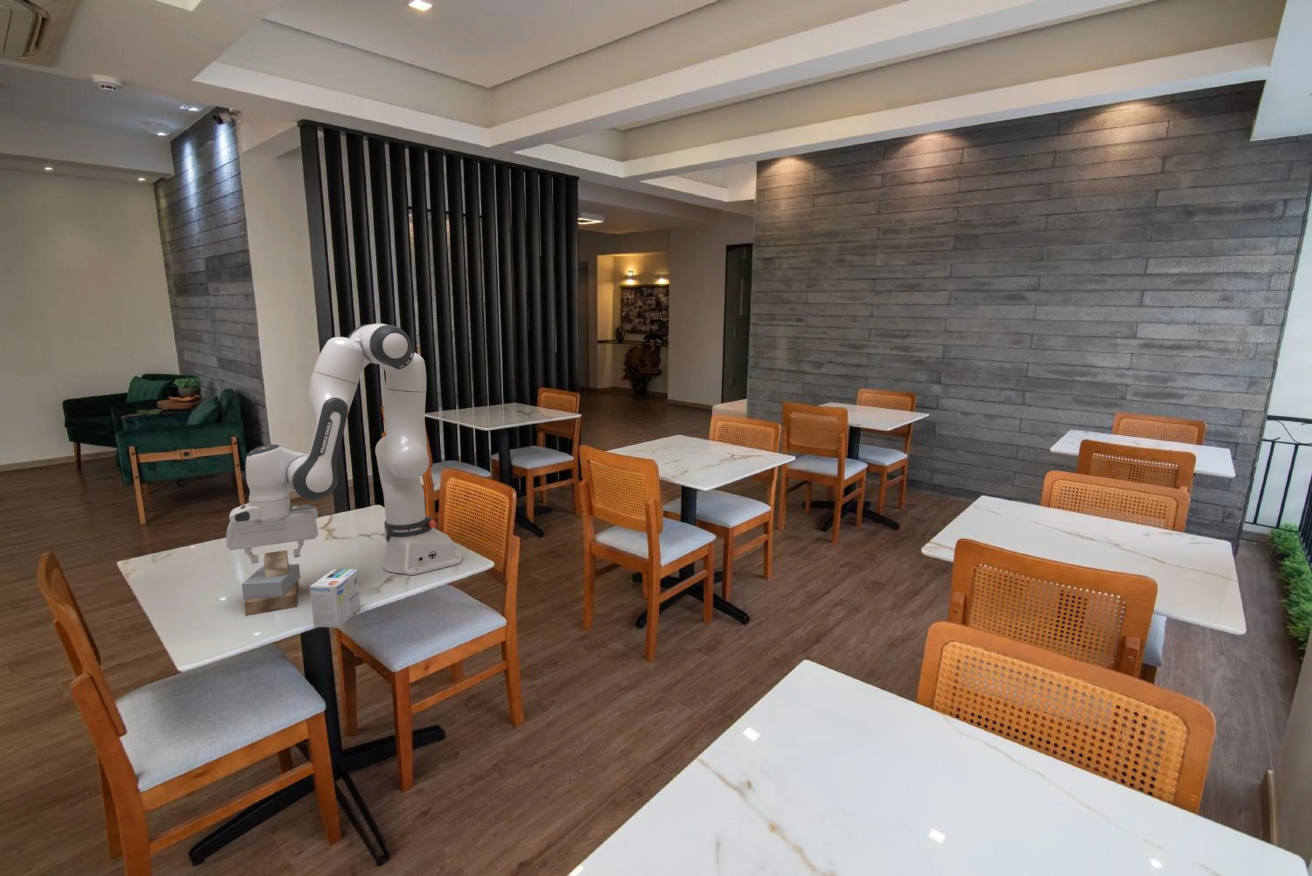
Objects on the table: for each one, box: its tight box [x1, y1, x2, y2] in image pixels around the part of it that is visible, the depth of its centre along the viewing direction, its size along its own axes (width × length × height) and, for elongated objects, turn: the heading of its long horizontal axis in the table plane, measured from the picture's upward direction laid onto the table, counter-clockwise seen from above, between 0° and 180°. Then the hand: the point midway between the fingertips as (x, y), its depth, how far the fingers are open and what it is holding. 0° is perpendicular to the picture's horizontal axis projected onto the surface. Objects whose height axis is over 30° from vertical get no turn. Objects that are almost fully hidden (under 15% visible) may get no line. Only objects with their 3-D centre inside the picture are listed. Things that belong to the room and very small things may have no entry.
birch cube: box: [263, 549, 289, 578], centre depth 164 cm, size 5×5×5 cm
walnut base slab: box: [243, 580, 300, 617], centre depth 164 cm, size 11×14×4 cm
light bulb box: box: [309, 568, 361, 628], centre depth 155 cm, size 11×7×11 cm, turn 178°
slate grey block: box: [241, 563, 301, 600], centre depth 164 cm, size 9×12×4 cm
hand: (276, 559), depth 163 cm, fingers open, 8 cm apart
